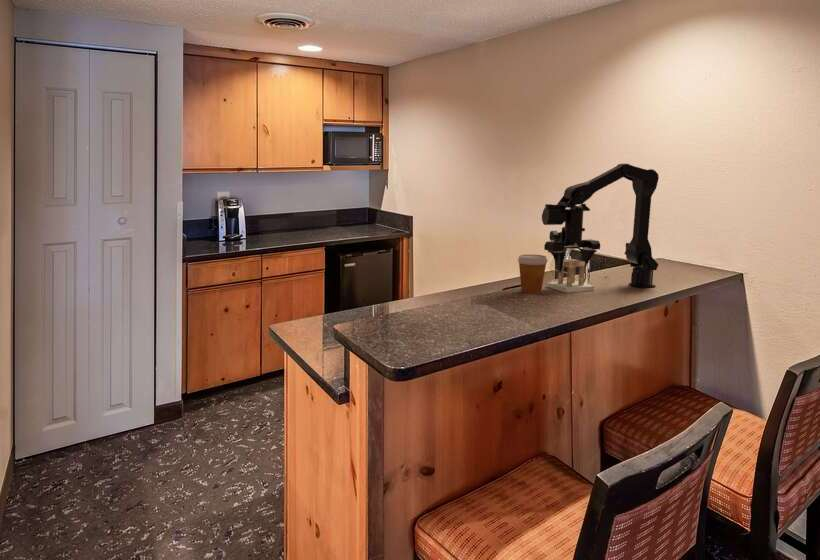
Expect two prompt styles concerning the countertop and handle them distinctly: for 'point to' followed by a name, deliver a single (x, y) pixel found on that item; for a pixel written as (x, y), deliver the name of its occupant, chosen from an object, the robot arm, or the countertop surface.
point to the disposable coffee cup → (532, 273)
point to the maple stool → (572, 271)
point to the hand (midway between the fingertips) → (571, 270)
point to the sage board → (570, 287)
